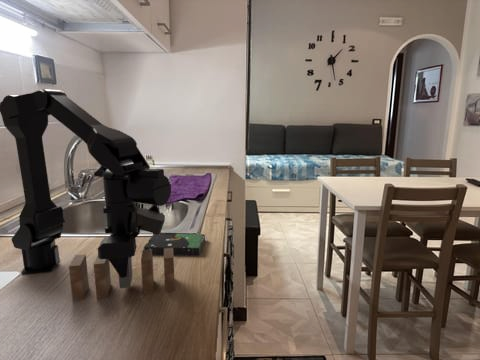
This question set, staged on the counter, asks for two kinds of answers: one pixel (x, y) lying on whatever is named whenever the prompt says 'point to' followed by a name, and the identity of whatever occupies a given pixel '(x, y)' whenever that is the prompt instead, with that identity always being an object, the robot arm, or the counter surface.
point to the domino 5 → (169, 269)
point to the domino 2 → (102, 277)
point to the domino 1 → (78, 277)
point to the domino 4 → (147, 271)
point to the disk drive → (176, 243)
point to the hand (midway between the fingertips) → (125, 270)
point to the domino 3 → (126, 280)
